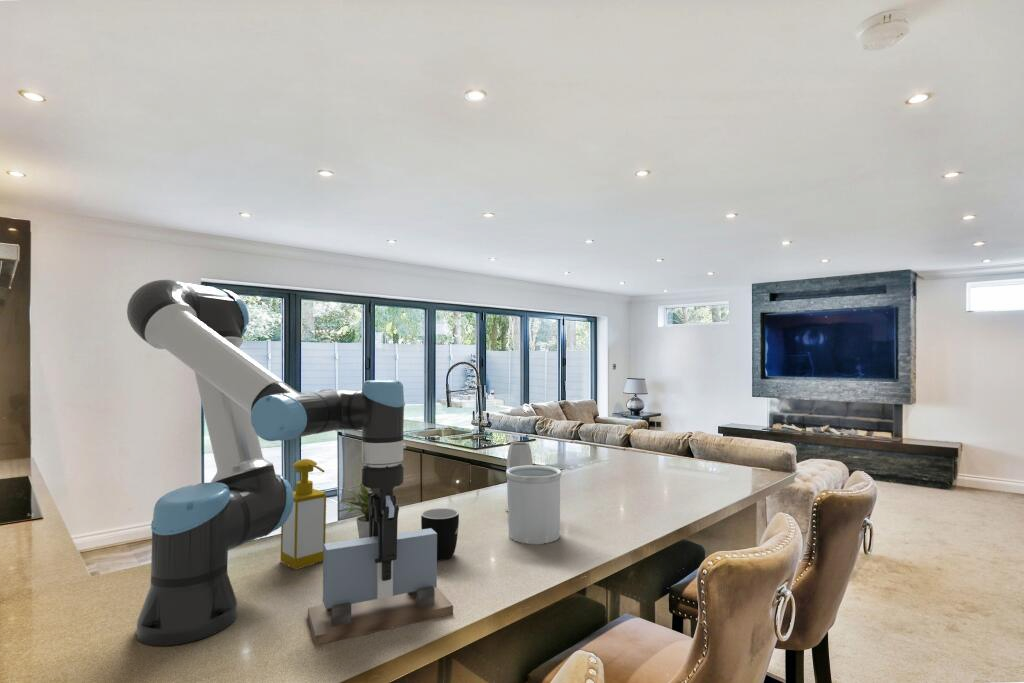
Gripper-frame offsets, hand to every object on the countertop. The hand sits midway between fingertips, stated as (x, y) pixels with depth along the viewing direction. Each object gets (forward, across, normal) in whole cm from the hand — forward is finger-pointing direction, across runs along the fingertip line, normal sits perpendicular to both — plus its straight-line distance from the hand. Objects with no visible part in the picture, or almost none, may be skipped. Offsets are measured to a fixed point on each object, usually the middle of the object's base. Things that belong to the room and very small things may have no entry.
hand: (381, 591), depth 97 cm
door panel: (0, 0, 0) cm, 0 cm away
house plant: (+4, +42, -7) cm, 43 cm away
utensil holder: (+5, +26, -47) cm, 54 cm away
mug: (+4, +25, -20) cm, 32 cm away
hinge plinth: (+4, 0, 0) cm, 4 cm away
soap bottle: (+4, +32, +9) cm, 34 cm away
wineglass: (+4, +49, -55) cm, 74 cm away
